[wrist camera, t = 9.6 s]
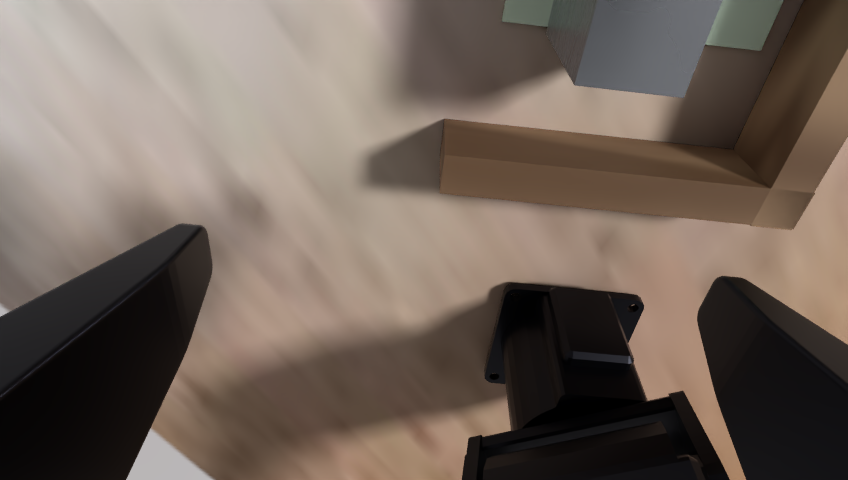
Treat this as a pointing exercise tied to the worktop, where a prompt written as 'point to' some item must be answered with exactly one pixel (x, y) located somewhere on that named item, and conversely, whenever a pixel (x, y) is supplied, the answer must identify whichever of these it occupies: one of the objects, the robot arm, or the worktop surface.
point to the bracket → (631, 42)
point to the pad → (733, 27)
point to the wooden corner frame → (682, 148)
